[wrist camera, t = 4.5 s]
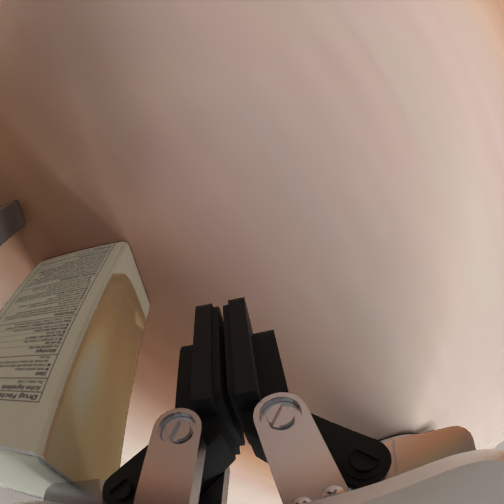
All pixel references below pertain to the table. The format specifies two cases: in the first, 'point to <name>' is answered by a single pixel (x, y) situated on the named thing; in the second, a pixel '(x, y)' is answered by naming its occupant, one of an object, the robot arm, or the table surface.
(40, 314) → the skincare box
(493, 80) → the table surface
